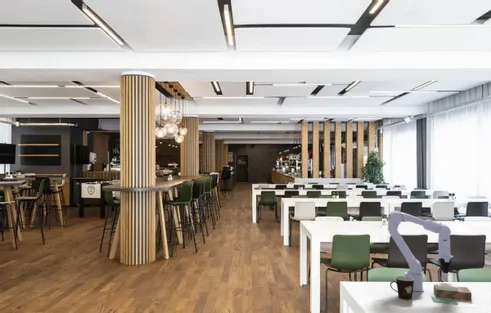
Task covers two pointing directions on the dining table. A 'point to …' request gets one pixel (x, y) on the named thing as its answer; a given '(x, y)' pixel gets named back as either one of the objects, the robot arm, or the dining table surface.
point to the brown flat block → (454, 293)
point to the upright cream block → (447, 287)
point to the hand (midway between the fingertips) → (445, 272)
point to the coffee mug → (404, 287)
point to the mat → (444, 300)
